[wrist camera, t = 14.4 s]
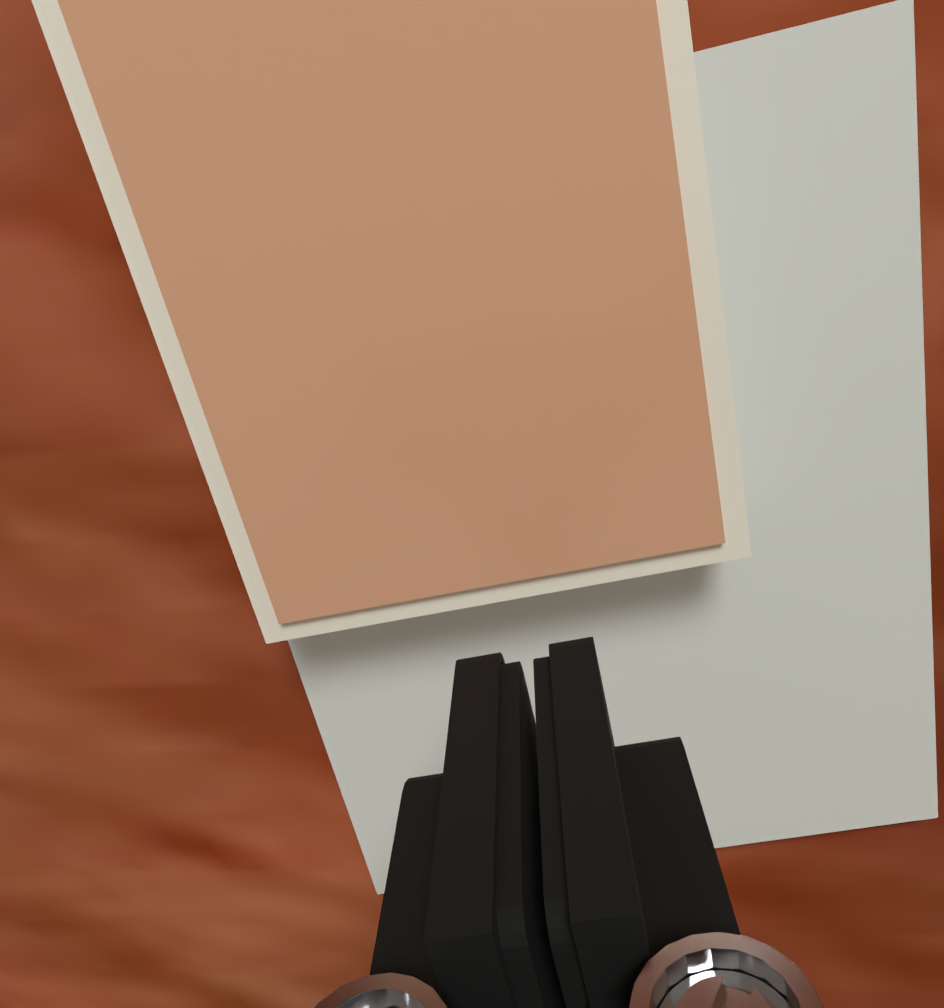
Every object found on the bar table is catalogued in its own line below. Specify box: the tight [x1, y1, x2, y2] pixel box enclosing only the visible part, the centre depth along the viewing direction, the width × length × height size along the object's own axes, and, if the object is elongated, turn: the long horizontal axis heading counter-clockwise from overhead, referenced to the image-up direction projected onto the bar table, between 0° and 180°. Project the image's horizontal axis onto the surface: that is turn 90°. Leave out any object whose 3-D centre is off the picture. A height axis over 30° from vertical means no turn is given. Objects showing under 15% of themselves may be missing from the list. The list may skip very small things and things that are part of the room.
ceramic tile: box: [32, 0, 752, 644], centre depth 12 cm, size 2×10×8 cm
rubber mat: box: [288, 0, 938, 894], centre depth 15 cm, size 12×15×1 cm
